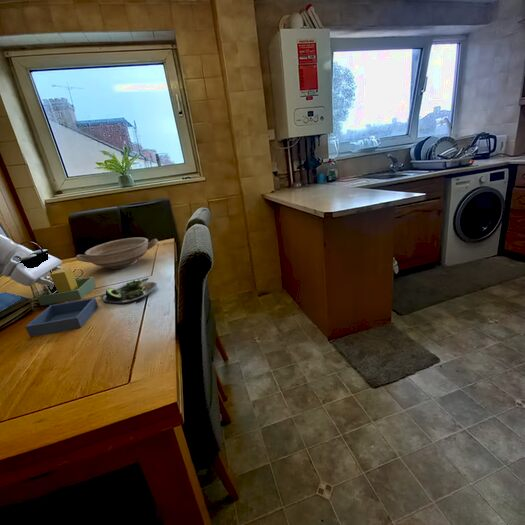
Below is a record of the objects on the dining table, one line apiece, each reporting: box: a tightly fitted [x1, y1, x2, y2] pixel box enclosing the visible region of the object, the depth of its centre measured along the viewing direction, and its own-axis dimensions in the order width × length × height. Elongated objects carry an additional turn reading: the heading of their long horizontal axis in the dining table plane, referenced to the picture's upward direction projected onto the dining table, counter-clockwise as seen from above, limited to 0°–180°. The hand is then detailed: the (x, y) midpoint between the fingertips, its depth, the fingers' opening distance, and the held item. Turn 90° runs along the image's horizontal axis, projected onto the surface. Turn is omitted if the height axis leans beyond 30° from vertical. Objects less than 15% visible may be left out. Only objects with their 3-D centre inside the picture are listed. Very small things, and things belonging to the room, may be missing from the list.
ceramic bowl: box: [75, 236, 158, 270], centre depth 139 cm, size 37×29×10 cm
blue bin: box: [25, 297, 99, 338], centre depth 88 cm, size 14×13×4 cm
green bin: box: [36, 276, 96, 307], centre depth 108 cm, size 14×13×4 cm
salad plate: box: [99, 277, 158, 306], centre depth 103 cm, size 19×18×5 cm
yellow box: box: [49, 267, 79, 293], centre depth 107 cm, size 5×5×10 cm
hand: (60, 279), depth 106 cm, fingers open, 8 cm apart
